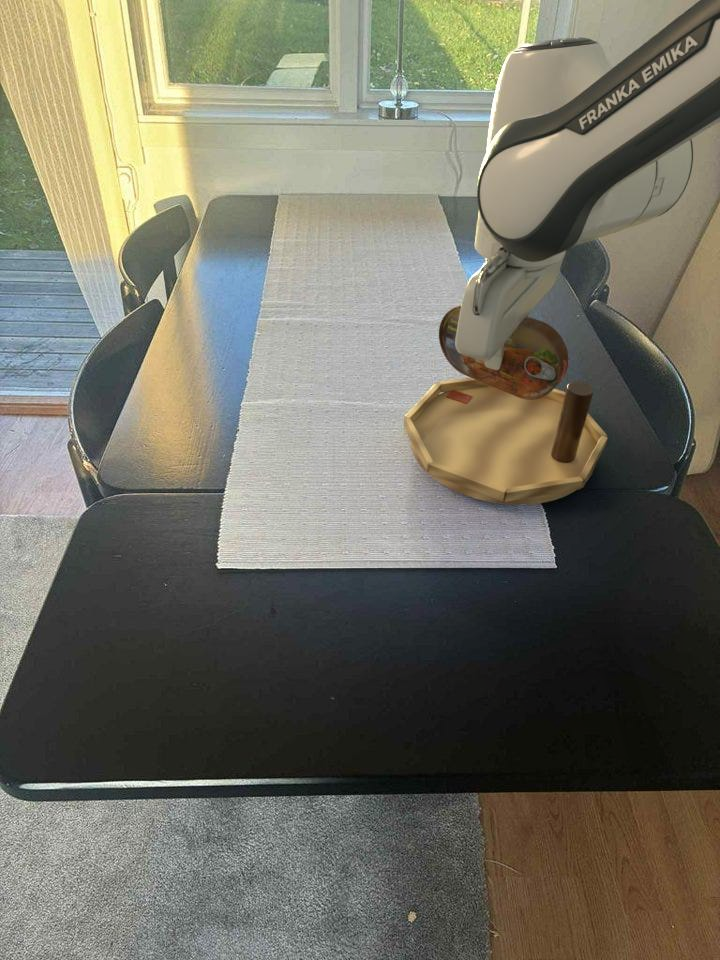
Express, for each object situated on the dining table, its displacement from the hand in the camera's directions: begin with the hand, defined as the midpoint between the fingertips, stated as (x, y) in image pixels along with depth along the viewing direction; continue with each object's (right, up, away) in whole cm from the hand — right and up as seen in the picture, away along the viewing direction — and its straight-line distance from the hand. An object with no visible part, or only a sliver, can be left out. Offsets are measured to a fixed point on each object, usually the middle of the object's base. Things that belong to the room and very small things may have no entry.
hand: (501, 357), depth 77 cm
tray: (+3, -9, +15) cm, 17 cm away
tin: (0, -2, +2) cm, 3 cm away
